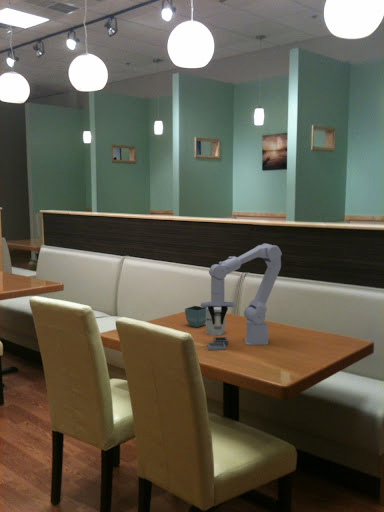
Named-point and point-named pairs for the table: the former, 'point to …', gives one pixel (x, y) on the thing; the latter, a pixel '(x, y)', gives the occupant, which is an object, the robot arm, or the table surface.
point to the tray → (216, 346)
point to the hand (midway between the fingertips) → (217, 323)
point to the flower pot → (196, 316)
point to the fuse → (217, 320)
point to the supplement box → (210, 325)
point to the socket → (220, 340)
